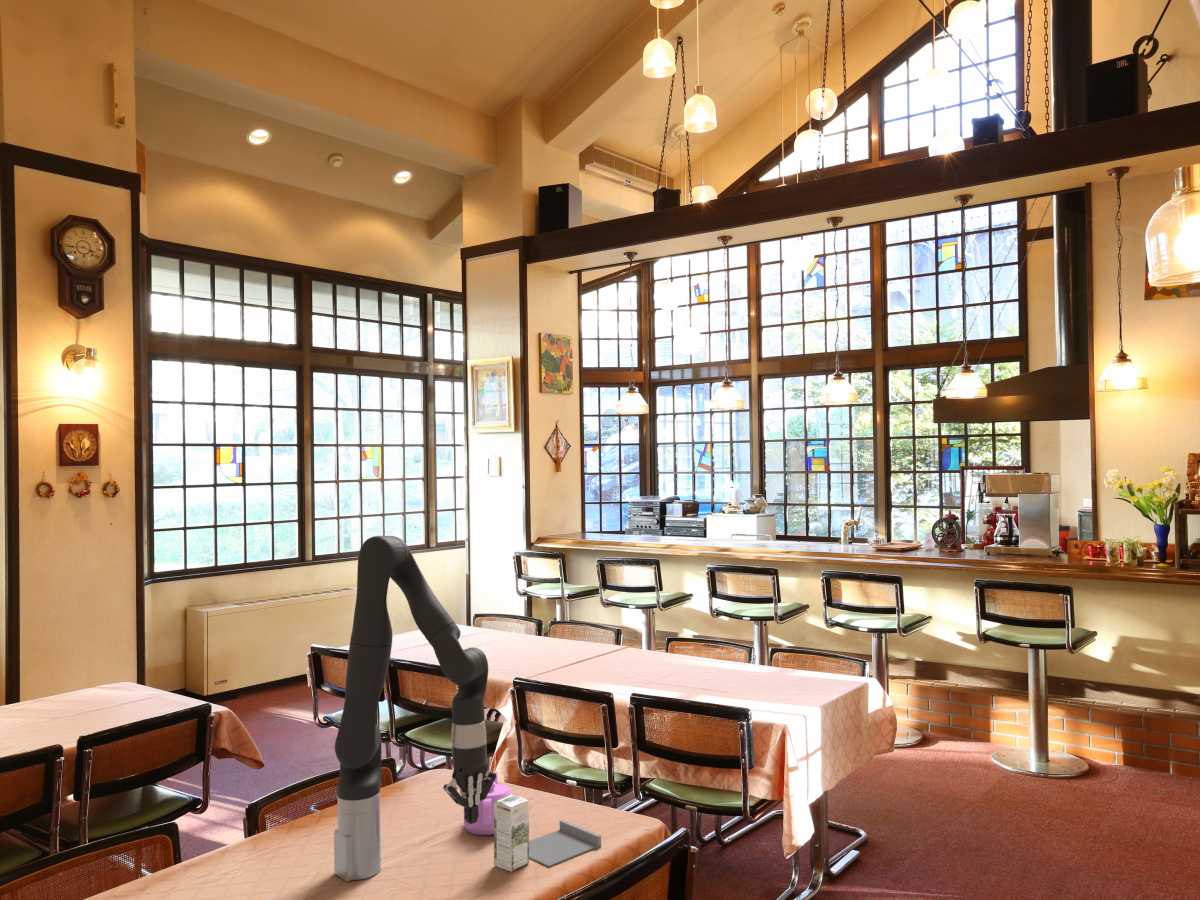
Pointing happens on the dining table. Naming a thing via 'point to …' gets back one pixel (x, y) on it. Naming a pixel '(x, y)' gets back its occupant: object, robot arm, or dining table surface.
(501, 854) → the syrup box
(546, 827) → the dining table surface
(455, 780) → the robot arm
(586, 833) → the board with raised edge
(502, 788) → the teapot
